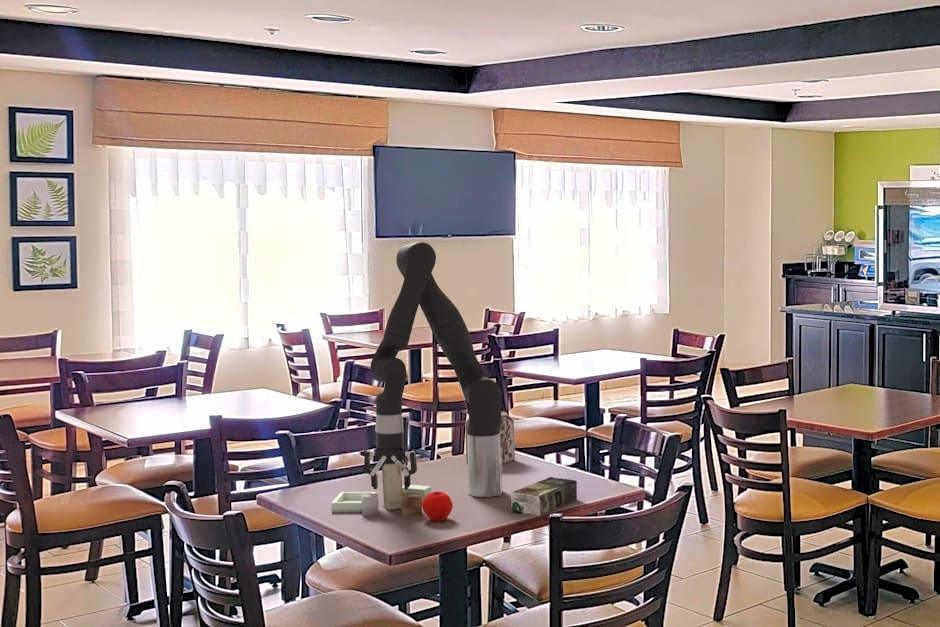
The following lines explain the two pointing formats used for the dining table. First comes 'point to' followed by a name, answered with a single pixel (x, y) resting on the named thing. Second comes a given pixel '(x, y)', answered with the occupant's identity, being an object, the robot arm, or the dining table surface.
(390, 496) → the skincare box
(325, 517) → the dining table surface
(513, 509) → the juice carton
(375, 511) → the grey cylinder
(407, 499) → the walnut block
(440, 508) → the apple
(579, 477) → the dining table surface
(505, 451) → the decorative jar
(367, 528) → the dining table surface
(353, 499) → the tray
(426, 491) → the sage block
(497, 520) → the dining table surface
